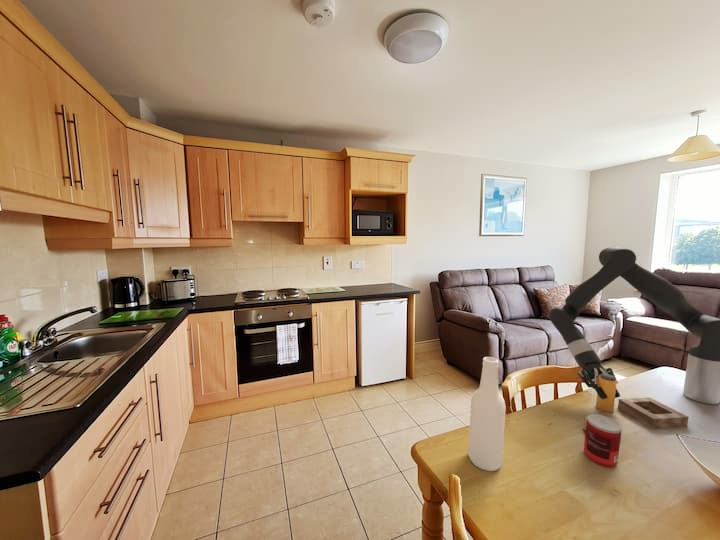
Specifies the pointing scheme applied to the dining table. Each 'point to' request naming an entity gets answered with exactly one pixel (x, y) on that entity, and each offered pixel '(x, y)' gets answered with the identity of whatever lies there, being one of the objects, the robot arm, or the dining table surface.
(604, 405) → the orange travel mug
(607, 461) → the canned food
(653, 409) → the wooden square frame
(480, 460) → the alcohol
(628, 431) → the dining table surface
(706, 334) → the robot arm
